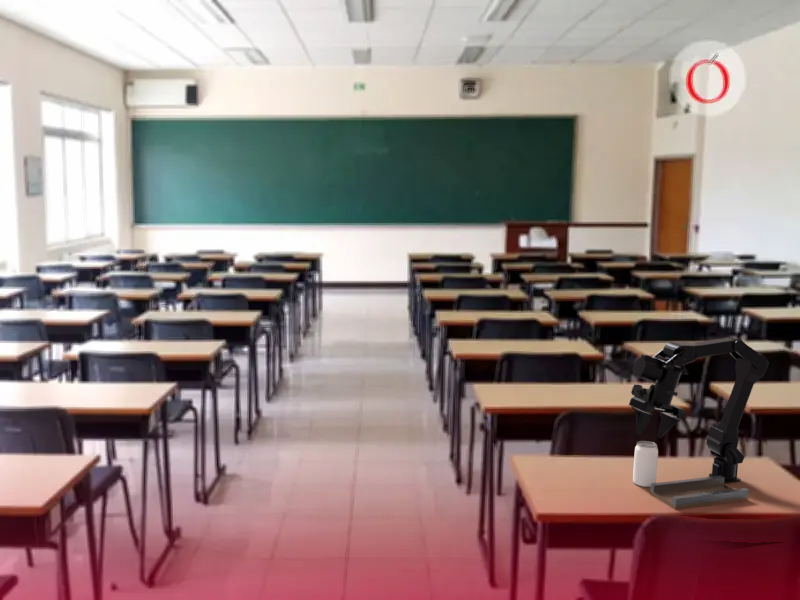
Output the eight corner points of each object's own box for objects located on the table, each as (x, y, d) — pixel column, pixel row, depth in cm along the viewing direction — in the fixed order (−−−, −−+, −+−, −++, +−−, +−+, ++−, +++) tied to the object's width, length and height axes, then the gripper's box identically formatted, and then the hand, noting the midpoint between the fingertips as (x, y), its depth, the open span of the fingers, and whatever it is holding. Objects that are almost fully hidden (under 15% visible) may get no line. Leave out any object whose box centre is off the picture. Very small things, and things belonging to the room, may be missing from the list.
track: (720, 485, 219) (720, 475, 219) (747, 500, 209) (748, 489, 209) (650, 493, 212) (650, 483, 212) (675, 509, 202) (676, 498, 201)
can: (657, 488, 216) (660, 448, 214) (633, 486, 217) (636, 446, 215) (654, 480, 222) (657, 441, 220) (631, 478, 223) (634, 439, 222)
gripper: (664, 381, 228) (647, 429, 229) (623, 371, 218) (606, 422, 219) (694, 393, 218) (677, 443, 219) (653, 383, 208) (635, 436, 209)
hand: (648, 435), depth 217 cm, fingers open, 9 cm apart
